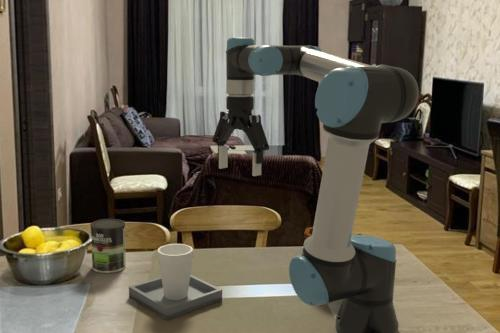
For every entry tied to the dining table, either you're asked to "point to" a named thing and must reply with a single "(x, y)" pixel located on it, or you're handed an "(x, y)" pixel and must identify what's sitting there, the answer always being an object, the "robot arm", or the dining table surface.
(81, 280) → the dining table surface
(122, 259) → the coffee can
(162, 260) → the foam cup
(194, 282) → the tray
